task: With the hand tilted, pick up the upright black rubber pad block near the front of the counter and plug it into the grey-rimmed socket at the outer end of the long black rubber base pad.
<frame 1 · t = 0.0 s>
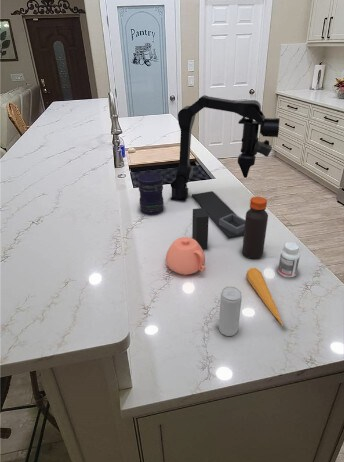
hand: (246, 173, 133), 15 cm above the worktop, tool pointing down, fingers open, 9 cm apart
beverage can: (228, 330, 82), on the worktop
pink dome with handle: (187, 267, 104), on the worktop
storage jar: (152, 210, 138), on the worktop
carrot: (264, 300, 90), on the worktop
base pad: (212, 205, 140), on the worktop
pad block: (199, 245, 114), on the worktop
pill bottle: (286, 272, 101), on the worktop
vinegar: (252, 253, 109), on the worktop
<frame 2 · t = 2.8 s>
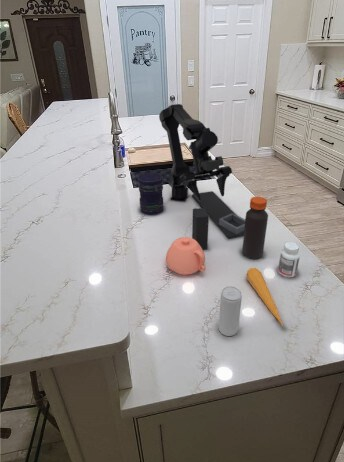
hand: (211, 198, 116), 13 cm above the worktop, tool tilted 35°, fingers open, 9 cm apart
nothing on the worktop moved.
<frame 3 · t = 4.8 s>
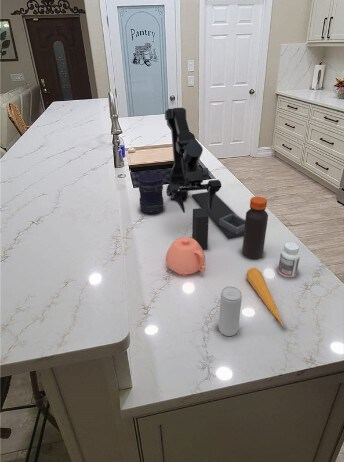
hand: (197, 211, 113), 11 cm above the worktop, tool tilted 45°, fingers open, 9 cm apart
nothing on the worktop moved.
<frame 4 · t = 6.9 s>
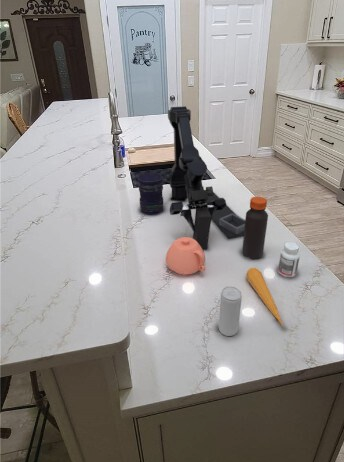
hand: (201, 230, 109), 7 cm above the worktop, tool tilted 45°, fingers closed on pad block, 5 cm apart
pad block: (199, 244, 114), on the worktop, touching gripper
everything else where it was.
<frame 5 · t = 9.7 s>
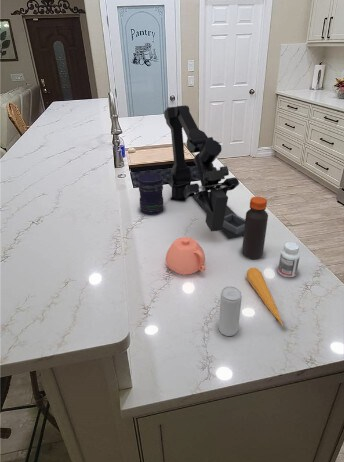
hand: (218, 210, 110), 12 cm above the worktop, tool tilted 45°, fingers closed on pad block, 4 cm apart
pad block: (213, 226, 114), point 6 cm above the worktop, tilted 6°, touching gripper
everything else where it was.
when the fingers open (10 cm above the worktop, at t = 12.8 s): pad block stays where it is, resting on base pad.
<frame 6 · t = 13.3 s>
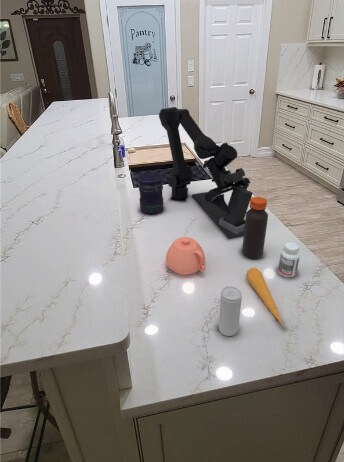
hand: (238, 210, 118), 9 cm above the worktop, tool tilted 45°, fingers open, 9 cm apart
pad block: (232, 222, 122), point 3 cm above the worktop, tilted 17°, touching base pad, gripper
everything else where it was.
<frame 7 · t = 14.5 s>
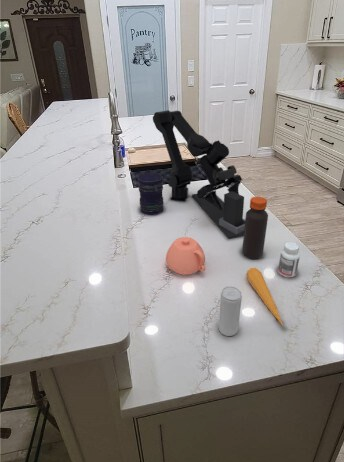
hand: (230, 206, 121), 8 cm above the worktop, tool tilted 45°, fingers open, 9 cm apart
pad block: (232, 226, 123), point 1 cm above the worktop, touching base pad
everything else where it was.
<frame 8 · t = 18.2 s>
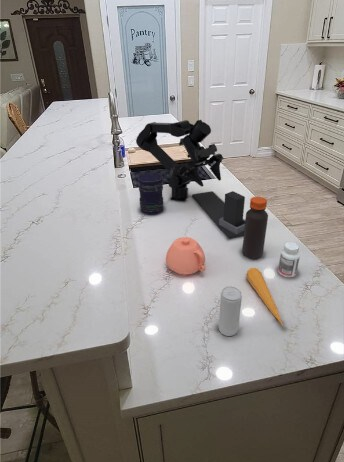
hand: (211, 183, 127), 14 cm above the worktop, tool tilted 45°, fingers open, 9 cm apart
nothing on the worktop moved.
at the end: pad block 0.6 cm from the target spot on the base pad, point 1.0 cm above the base pad's base; pad block tilted 0°; the gripper is holding nothing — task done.
